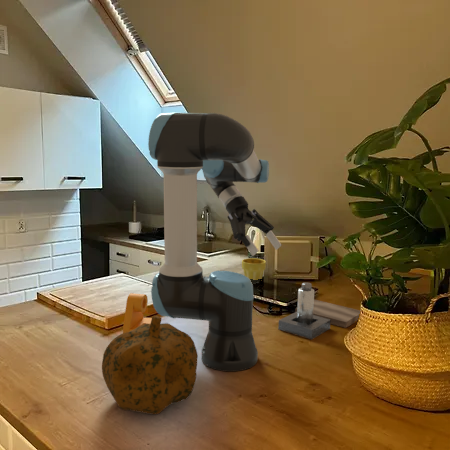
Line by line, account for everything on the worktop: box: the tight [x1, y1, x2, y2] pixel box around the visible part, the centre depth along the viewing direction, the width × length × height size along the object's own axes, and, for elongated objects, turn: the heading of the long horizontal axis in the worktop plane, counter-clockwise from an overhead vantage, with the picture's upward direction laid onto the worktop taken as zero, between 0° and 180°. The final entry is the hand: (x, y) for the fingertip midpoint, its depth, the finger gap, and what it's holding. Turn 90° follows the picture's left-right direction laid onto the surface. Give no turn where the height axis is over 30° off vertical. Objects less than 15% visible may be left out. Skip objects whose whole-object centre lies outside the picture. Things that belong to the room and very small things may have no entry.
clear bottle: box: [296, 282, 315, 325], centre depth 143 cm, size 5×5×15 cm
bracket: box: [122, 292, 152, 334], centre depth 138 cm, size 11×7×12 cm, turn 168°
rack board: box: [294, 299, 361, 329], centre depth 157 cm, size 14×19×2 cm
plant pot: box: [241, 257, 267, 280], centre depth 196 cm, size 10×10×10 cm
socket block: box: [277, 311, 331, 340], centre depth 144 cm, size 12×12×3 cm
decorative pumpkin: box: [101, 315, 198, 415], centre depth 99 cm, size 20×21×20 cm
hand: (267, 250), depth 151 cm, fingers open, 13 cm apart
